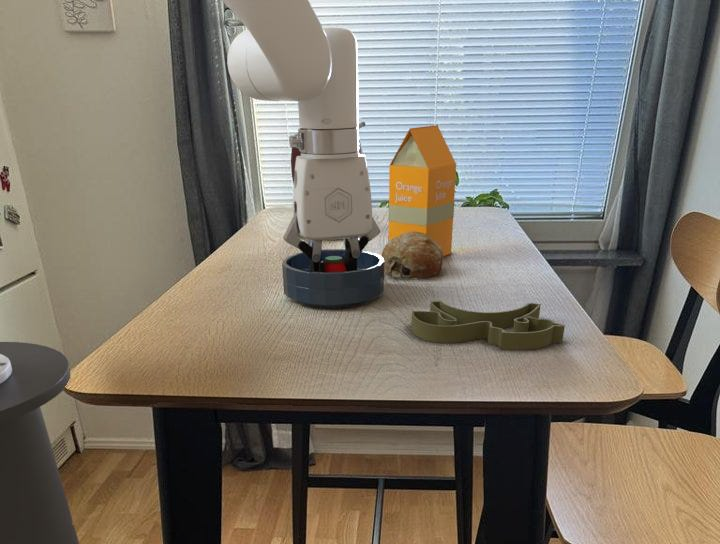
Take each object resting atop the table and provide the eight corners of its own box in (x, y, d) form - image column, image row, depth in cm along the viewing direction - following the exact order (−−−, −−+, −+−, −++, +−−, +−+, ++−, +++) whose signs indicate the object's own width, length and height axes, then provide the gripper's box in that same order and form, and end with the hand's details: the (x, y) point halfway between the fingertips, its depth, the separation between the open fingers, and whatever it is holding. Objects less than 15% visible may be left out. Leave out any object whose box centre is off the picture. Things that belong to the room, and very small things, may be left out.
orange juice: (452, 253, 118) (459, 125, 108) (425, 263, 112) (430, 129, 102) (414, 248, 122) (418, 124, 112) (387, 257, 116) (388, 127, 106)
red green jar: (326, 292, 93) (324, 262, 91) (317, 285, 96) (316, 256, 94) (351, 289, 95) (350, 259, 92) (342, 282, 98) (341, 253, 95)
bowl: (300, 316, 88) (298, 277, 86) (273, 288, 100) (271, 254, 97) (399, 303, 93) (399, 267, 90) (362, 279, 104) (362, 245, 101)
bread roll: (376, 297, 108) (370, 255, 101) (393, 256, 113) (387, 214, 107) (437, 302, 105) (434, 259, 99) (450, 260, 110) (448, 217, 104)
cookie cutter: (553, 318, 86) (555, 303, 85) (566, 351, 76) (568, 334, 75) (413, 315, 88) (414, 299, 87) (407, 346, 78) (408, 329, 77)
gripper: (274, 149, 81) (285, 300, 90) (400, 143, 85) (398, 287, 95) (259, 144, 87) (271, 286, 96) (378, 138, 91) (378, 274, 101)
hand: (334, 285), depth 95 cm, fingers closed on red green jar, 3 cm apart
